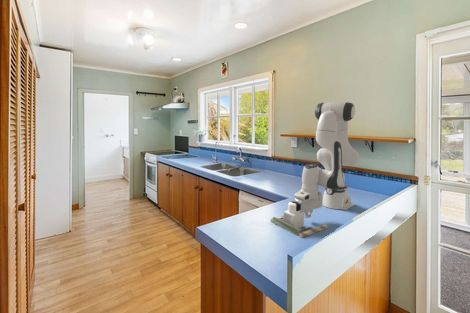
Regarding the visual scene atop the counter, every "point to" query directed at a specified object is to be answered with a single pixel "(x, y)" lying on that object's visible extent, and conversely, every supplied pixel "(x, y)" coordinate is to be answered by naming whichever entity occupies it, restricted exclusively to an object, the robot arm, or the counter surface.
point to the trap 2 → (306, 229)
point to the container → (294, 215)
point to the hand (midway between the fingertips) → (308, 217)
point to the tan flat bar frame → (294, 229)
